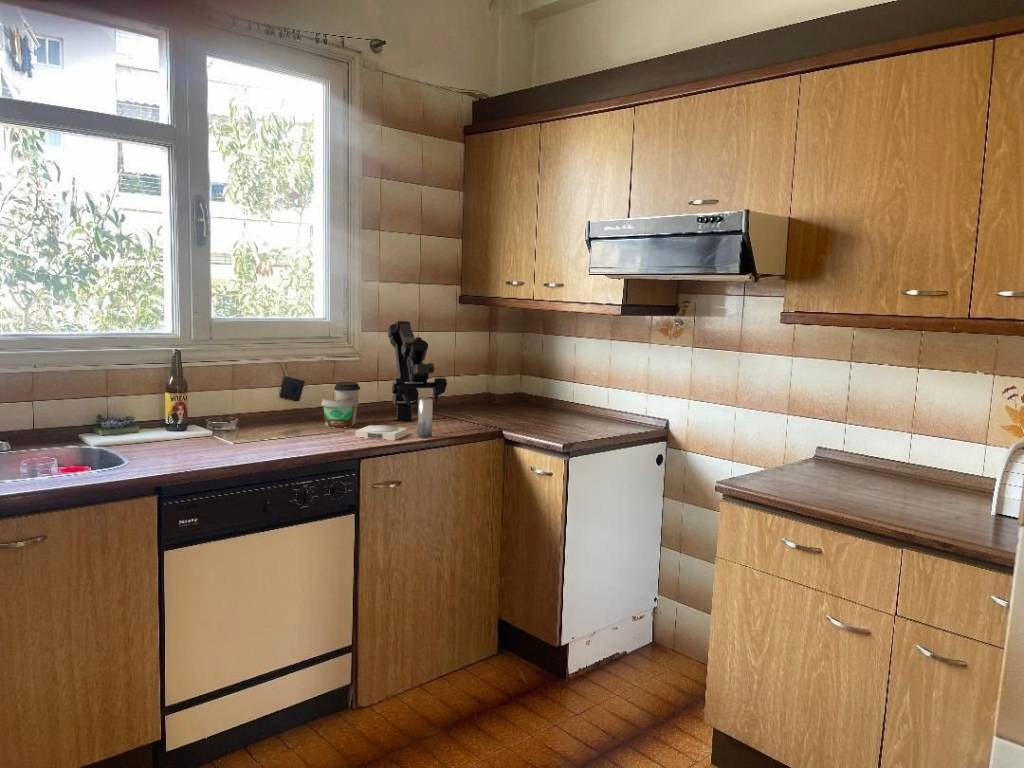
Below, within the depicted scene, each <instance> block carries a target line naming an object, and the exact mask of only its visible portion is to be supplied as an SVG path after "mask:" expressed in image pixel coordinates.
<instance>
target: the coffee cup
mask: <svg viewBox="0 0 1024 768" xmlns="http://www.w3.org/2000/svg"><path fill="white" fill-rule="evenodd" d="M333 390H335V391H334V393H335V396H334V398H335V401H336V400H342V401H349V400H354V399H355V400H356V405H355V406H354V414H353V423H352V424H354V425H356V419H357V418H356V417H357V411H358V404H359V390H361V386H360V385H359V383H358V382H353V381H341V382H336V383H335V386H334V387H333Z"/></svg>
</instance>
